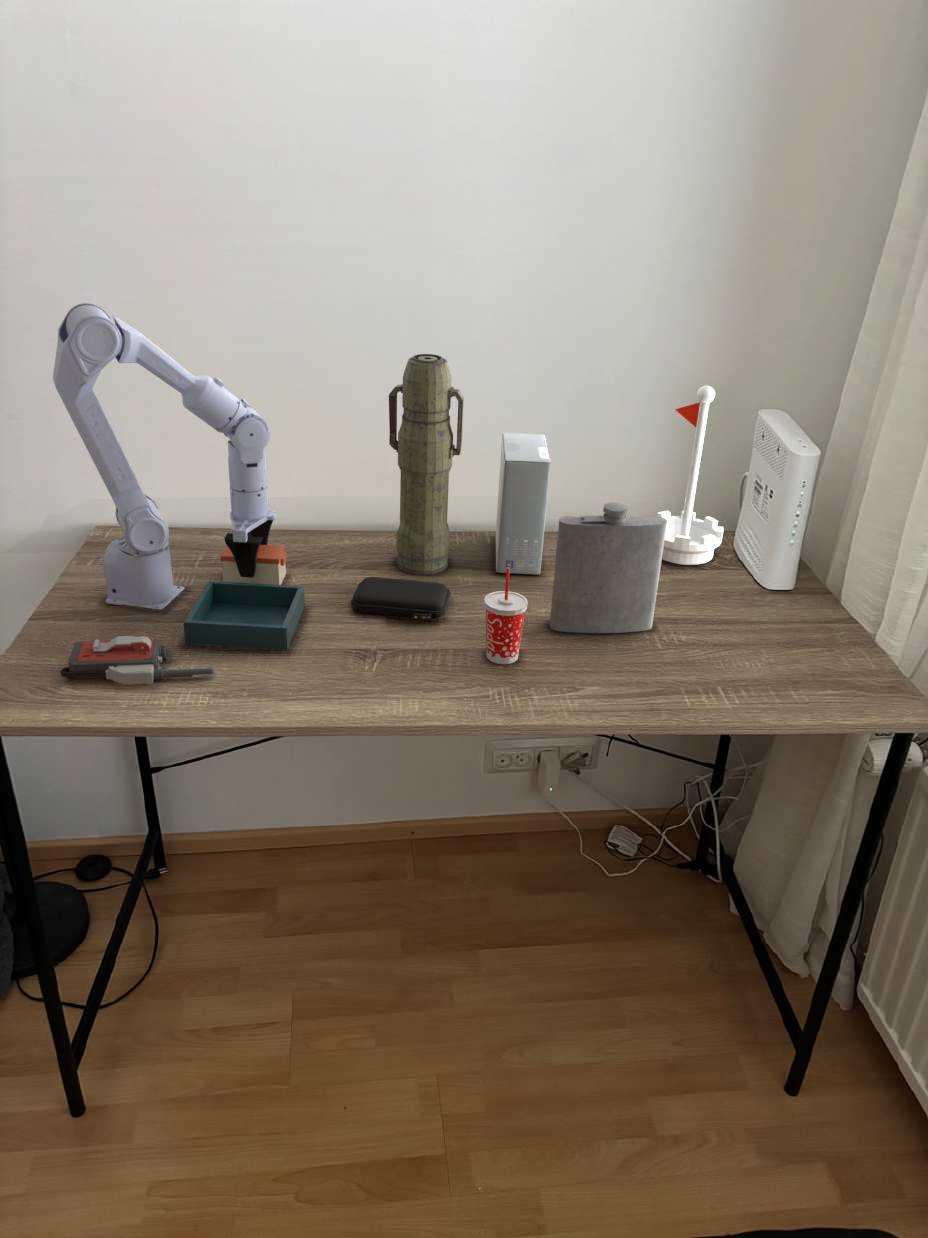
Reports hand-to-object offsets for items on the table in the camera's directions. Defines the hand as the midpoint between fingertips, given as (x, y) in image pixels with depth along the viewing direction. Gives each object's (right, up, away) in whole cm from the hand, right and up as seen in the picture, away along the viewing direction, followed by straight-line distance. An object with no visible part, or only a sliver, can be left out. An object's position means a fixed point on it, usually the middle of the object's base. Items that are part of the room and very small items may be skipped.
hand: (253, 566), depth 164 cm
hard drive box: (+43, +2, +15) cm, 45 cm away
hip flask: (+55, -10, -7) cm, 56 cm away
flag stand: (+73, +3, +19) cm, 75 cm away
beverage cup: (+39, -14, -16) cm, 45 cm away
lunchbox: (0, -2, +1) cm, 3 cm away
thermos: (+27, +1, +10) cm, 29 cm away
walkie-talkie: (-10, -16, -24) cm, 31 cm away
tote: (+2, -10, -12) cm, 16 cm away
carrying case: (+24, -7, -5) cm, 25 cm away
